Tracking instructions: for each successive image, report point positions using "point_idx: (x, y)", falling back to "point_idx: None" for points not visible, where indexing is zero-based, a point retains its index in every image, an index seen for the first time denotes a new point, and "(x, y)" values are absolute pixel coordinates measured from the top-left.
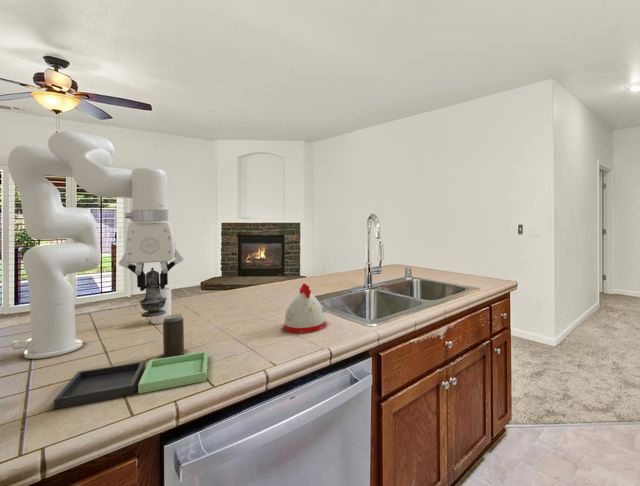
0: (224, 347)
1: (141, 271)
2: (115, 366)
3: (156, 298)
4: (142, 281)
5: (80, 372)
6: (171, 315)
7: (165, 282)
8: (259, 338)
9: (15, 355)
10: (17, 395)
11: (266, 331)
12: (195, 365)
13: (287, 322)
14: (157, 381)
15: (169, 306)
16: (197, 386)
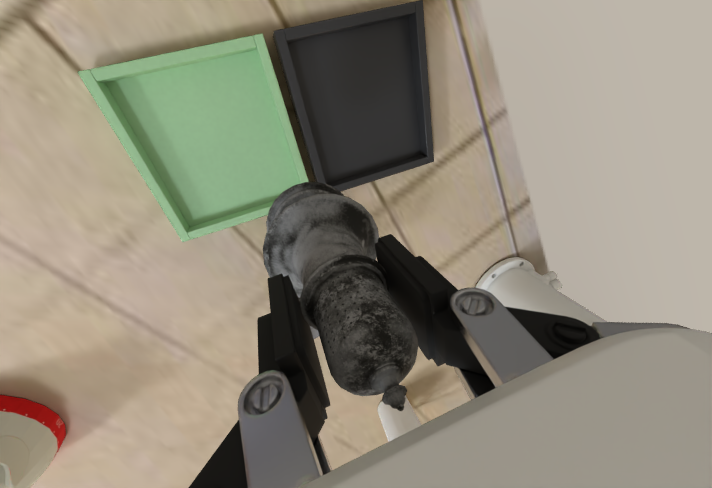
0: (179, 297)
1: (458, 334)
2: (373, 174)
3: (299, 236)
4: (404, 268)
5: (428, 154)
6: (315, 330)
7: (267, 321)
8: (102, 351)
9: (540, 272)
10: (493, 109)
11: (110, 391)
12: (187, 181)
13: (16, 427)
14: (216, 43)
15: (388, 435)
16: (97, 36)
